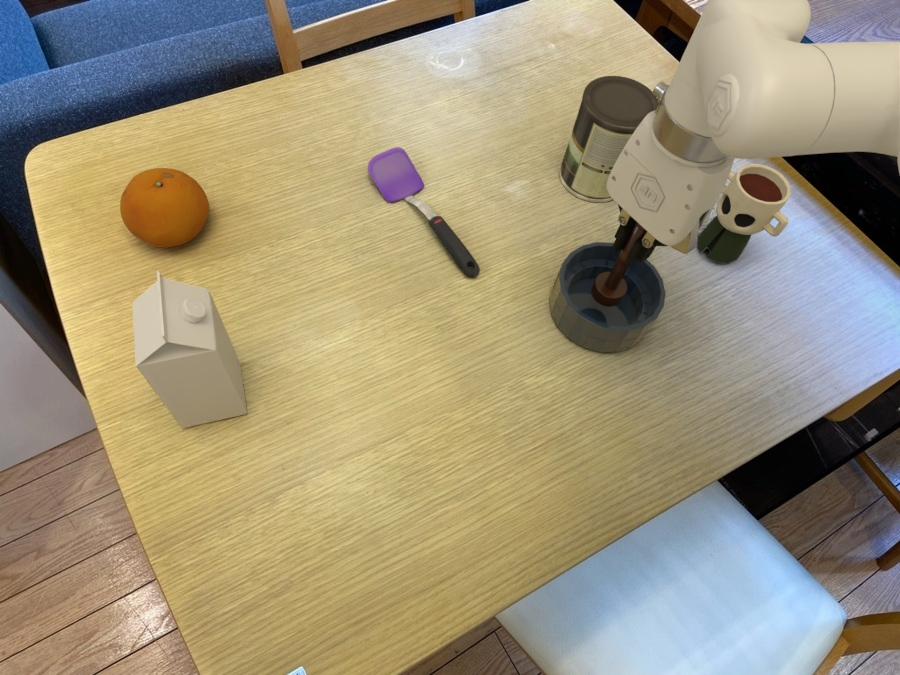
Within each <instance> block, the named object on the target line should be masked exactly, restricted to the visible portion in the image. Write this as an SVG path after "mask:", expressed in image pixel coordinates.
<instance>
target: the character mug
mask: <svg viewBox="0 0 900 675" xmlns="http://www.w3.org/2000/svg"><path fill="white" fill-rule="evenodd" d="M727 180H729V183H728V184H727V186H726V185H725V186H724V188H723V191H722V193H721V195H720V197H719V199H718V201H717V203H716V206H715V207H716V208H715V212H716V216H714V218H713V219H711V221H710V222H709V223H708V224H707V225H706V226H705V227H704V228H703V229H702V231H701V232H700V233H699V234H698V236H697V242H696V245H697V247H698V249H699V251H700V253H702V254H703V253H704V252H705V251H706V249H707V250H708V251H709V253H708V254H707V256H706V258H707V259H708V260H710V261H713V262H715V263H718V264H726V265H727V264H730V263H732V262H734V261H737V260H738V259H739V258H740V256H741V255H742V254H743V252H744V250H745V248H746V247H747V245H748V243H749V241H750V239H751V237H752V235H755V234H759V233H761V232H763V231H765V232H766V233H767V234H768V235H770V236H771V237H773V238H777V237H778V236H779V235H780V234H781V233H782V232H783V231H784V229H785V228H786V227H787V226H788V225H789V221H790V219H789V217H787V216H786V215H785V214H784V213H783V212H781V210H782V209H783V207H784V205H786V203H787V202H788V201H789V199H790V198H791V193H792V187H791V184H790V183H789V182H790V181H789V180H788V179H787V178H786V177H785V176H784V175H783V174H782V173H781V171H778V170H776V169H775V168H773V167H771V166H767V165H764V164H762V163H749V164H746V165H743V166H741V168H740V169H738V170H737V172H736V173H735V172H733V170H731V171H730V174H729V177H728V179H727ZM774 219H775V220H776V221H777V222H778V223H777V225H776V226H774V225H772V224H771V222H772V221H773V220H774Z"/></svg>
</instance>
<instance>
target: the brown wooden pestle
mask: <svg viewBox="0 0 900 675" xmlns="http://www.w3.org/2000/svg"><path fill="white" fill-rule="evenodd" d="M646 232H647V230H645V229H644V228H643V227H642V226H641V225H640V224H639V223H638V222H636V224H635V226H634V228H633V230H632V232H631V234H630V236H629V237H628V239H627V241H626V243H625V245H624V247H623V249H622V251H621V253H620V255H619V257H618V259H617V261H616V262H615V264H614V266H613V268H612V270H611V272H603V273H601V274H599V275H598V276H597V278H596V280H595V282H594V284H593V286H592V288H591V294H592V297H593V298H594V300H595V301H596V302H597V303H599V304H600V305H603V306H607V307H612V306H615V305H617V304H619V303H620V302H621V300H622V298H623V297H624V295H625V293H626V291H627V284H626V282H625V280H624V279H623V276H624V275H625V273H626V271H627V269H628V267H629V266H628V265H627V264H626V261H625V260H626V258H627V257H628V255H629V253H630V251H631V249H632V247H633V246H634V244H635V242H636V241H637V240H638V239H640V238H642V237H643V236H644V235H645V234H646Z"/></svg>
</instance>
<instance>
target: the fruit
mask: <svg viewBox="0 0 900 675" xmlns="http://www.w3.org/2000/svg"><path fill="white" fill-rule="evenodd" d="M119 212H120V217H121V220H122V222H123V224H124V226H125V227H126V229H127V230H128V231H129V232H130V233H131V235H133V236H134V237H135V238H137V239H138V240H140V241H142V242H144V243H146V244H149V245H151V246H155V247H159V248H171V247H177V246H181V245H185V244H186V243H188V242H190V241H192V240H194V238H195V237H196V236H197V235H199V233H200V232H201V231H202V230H203V228H204V227H205V225H206V222H207V220H208V217H209V214H210V203H209V200H208V197H207V195H206V192H205V190H204V189H203V187H202V186H201V184H200V183H199V182H198V181H197V180H196V179H195V178H193V177H192V176H190V174H189V175H188V174H187V173H186V172H184V171H181V170H178V169H174V168H167V167H157V168H156V167H154V168H150V169H146V170H144V171H141V172H139V173H137V174H134V176H133V177H132V178H131V179H130V181H129V182H128V184H127V185H126V187H125V188H124V190H123V191H122V194H121V197H120V201H119Z"/></svg>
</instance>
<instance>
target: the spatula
mask: <svg viewBox="0 0 900 675" xmlns="http://www.w3.org/2000/svg"><path fill="white" fill-rule="evenodd" d="M367 173H368V176H369V177H370V178H371V180H372V181H373V183H374V184H375V186H376V189H378V191H379V193H380V194H381V195H382V196H383V198H384V199H385V201H386V202H388V203H395V202H398V201H402V200H403V201H405V202H406V203H409V204H411V205H413V206H414V207H415V208H416V209H418V210H419V211H420V212H421V213H422V214H423V215H424V216H425V217H426V219H427V221H428V225H429V227H430V228H431V229H432V231H433V233H434V234H435V236H436V237H437V238H438V240H439V242H440V243H441V244H442V245H443V247H444V248H445V250H446V251H447V253H448V254H449V256H450V258H452V260H453V262H454V263H455V265H457V267H458V268H459V269H460V270H461V271H462V273H463V274H464V275H465V276H467V277H470V278H476V277H478V275H479V274H480V271H481V268H480V265H479V264H478V262H477V260H476V259H475V257H474V256H473V255H472V253H470V251H469V249H468V248H467V247H466V245H465V244H464V243H463V241H462V240H461V239H460V237H459V236H458V235H457V234H456V233H455V231H454V230H453V228H452V227H451V226H450V225H449V224H448V223H447V222H446V220H445V219H444V218H443V217H442V216H441V215H438V214H437V213H436V211H435V210H433V208H432V207H431V206H430V205H429V204H427V203H426V202H424V201H423V200H421V199H420V198H418V197H415V196H414V195H415V194H417V193H419V192H420V191H422V190H423V189H424V187H425V184H424V181H423V180H422V177H421V175H420V174H419V172H418V170H417V169H416V167H415V165H414V163H413V162H412V160H411V158H410V157H409V155H408V153H407V151H406V150H405V149H404V148H402V147H399V146H397V147H396V146H395V147H391V148H389V149H387V150H385V151H383V152H382V151H381V152H380V153H378V154H376V155H374V156H372V157H371V159H370V160H369V161H368V164H367ZM469 267H470V268H469Z"/></svg>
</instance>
